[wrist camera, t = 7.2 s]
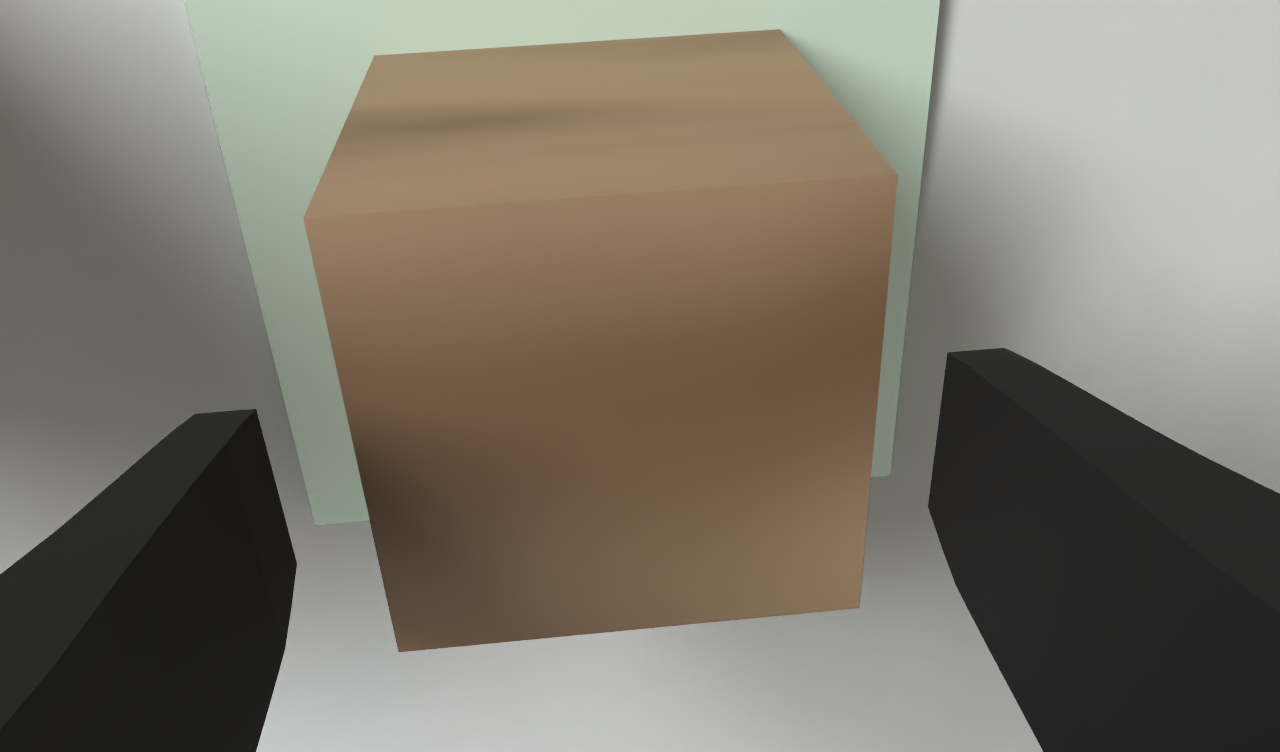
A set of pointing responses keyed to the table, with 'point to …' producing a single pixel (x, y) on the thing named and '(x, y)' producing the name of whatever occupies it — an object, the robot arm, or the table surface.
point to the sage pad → (490, 18)
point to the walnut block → (606, 333)
